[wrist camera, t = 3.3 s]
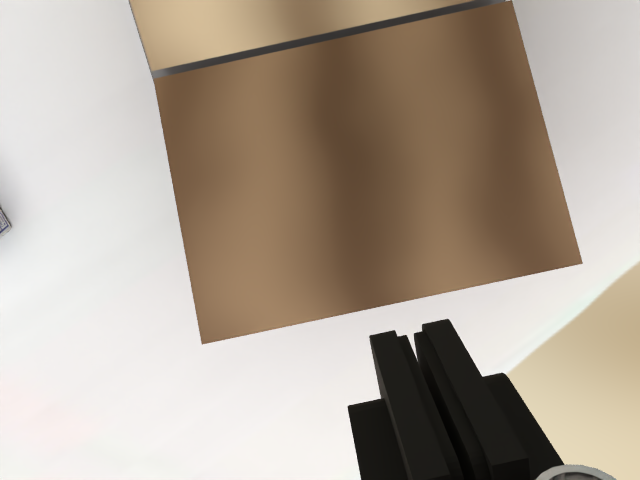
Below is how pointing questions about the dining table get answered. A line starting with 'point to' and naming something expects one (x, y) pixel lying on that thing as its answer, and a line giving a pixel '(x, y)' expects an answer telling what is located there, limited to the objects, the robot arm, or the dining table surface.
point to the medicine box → (3, 225)
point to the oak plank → (252, 23)
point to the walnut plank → (363, 173)
